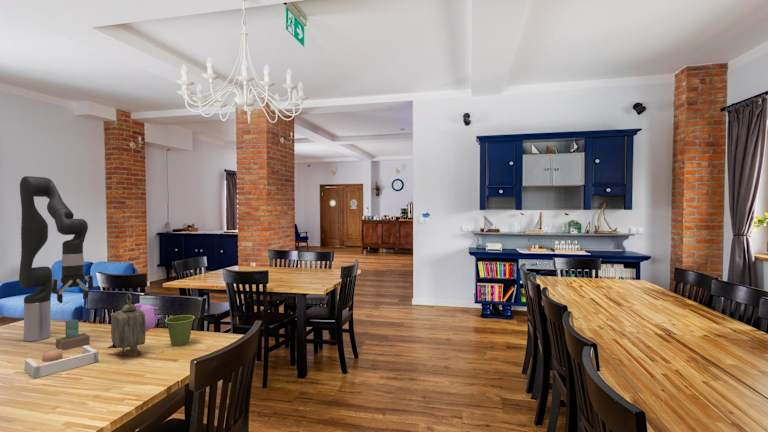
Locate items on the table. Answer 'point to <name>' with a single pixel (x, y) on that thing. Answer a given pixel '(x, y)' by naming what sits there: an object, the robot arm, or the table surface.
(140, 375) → the table surface
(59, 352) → the pink rounded dome
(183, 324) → the plant pot
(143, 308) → the teakettle
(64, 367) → the frame
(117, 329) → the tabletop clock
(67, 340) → the brown and teal block
